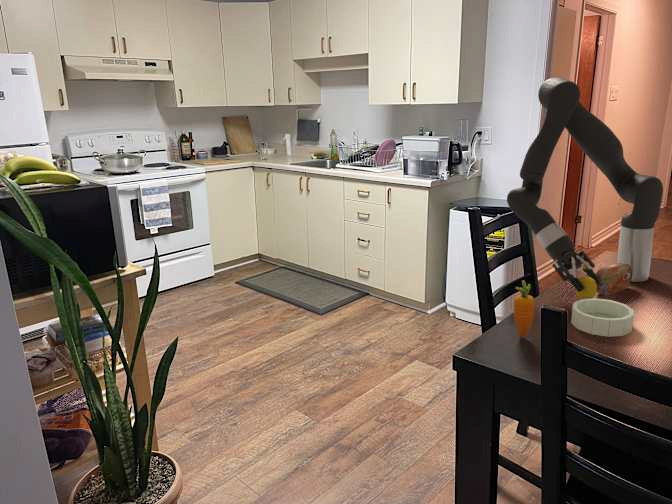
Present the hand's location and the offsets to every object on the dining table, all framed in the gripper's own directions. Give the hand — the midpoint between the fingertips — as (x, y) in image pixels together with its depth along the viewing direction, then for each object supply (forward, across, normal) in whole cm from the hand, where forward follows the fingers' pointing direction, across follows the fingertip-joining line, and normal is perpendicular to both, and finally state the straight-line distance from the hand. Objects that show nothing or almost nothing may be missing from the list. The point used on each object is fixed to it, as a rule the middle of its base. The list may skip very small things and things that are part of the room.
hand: (589, 286), depth 146 cm
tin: (+4, +13, +4) cm, 14 cm away
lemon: (+3, 0, +4) cm, 5 cm away
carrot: (+4, -33, +3) cm, 34 cm away
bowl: (+10, -12, -3) cm, 16 cm away
